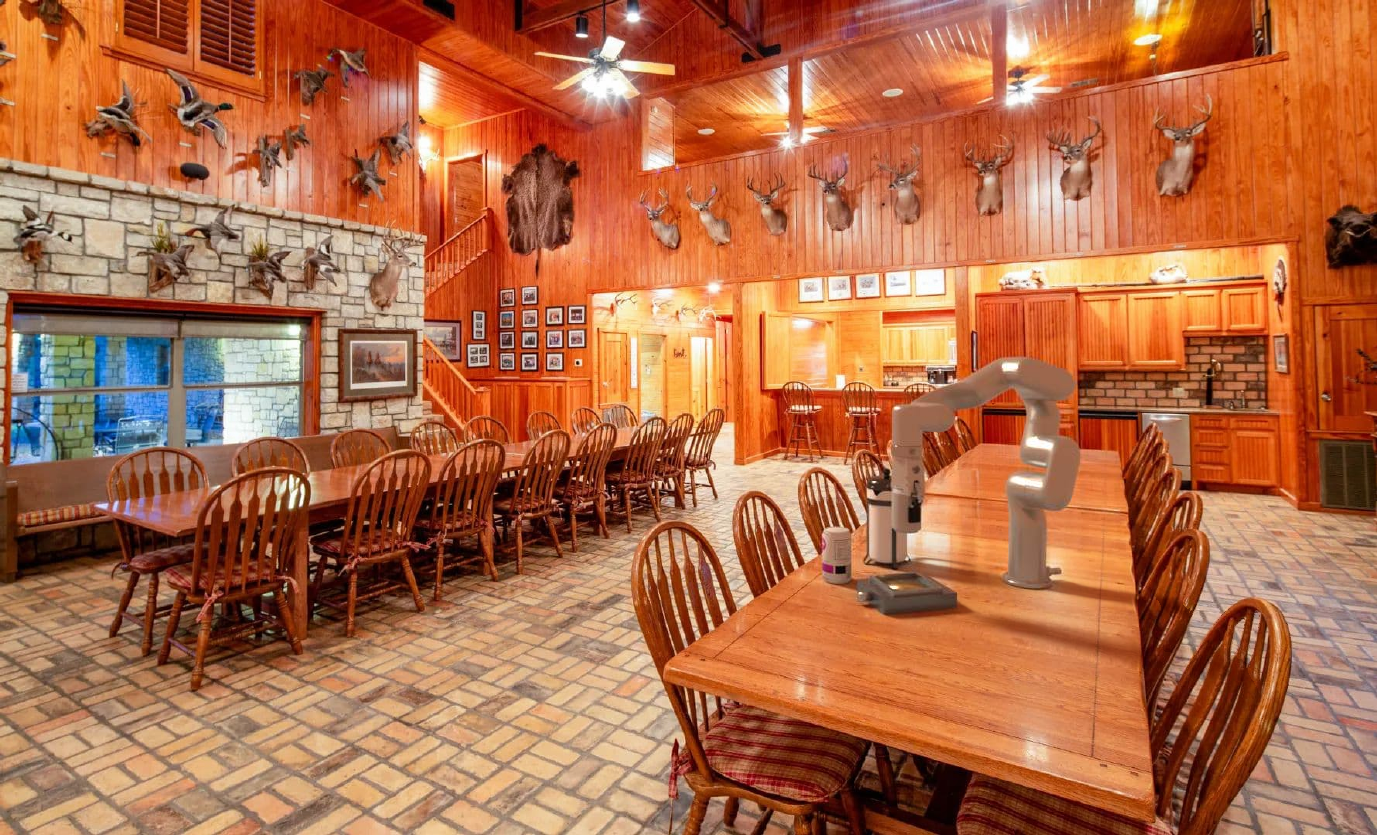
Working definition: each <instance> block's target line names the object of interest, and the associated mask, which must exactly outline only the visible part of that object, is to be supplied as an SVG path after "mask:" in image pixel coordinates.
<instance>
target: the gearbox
mask: <svg viewBox="0 0 1377 835" xmlns="http://www.w3.org/2000/svg"><path fill="white" fill-rule="evenodd" d="M856 597H857V598H856V599H857V601H858V602H859V603H862V602H864V603H865V602H867V603H868V604H869V605H871V606H872V607H873V608H875V610H876V611H878V612H880V614H882V616H883V615H885V616H887V615H896V614H906V613H917V612H930V611H941V610H951V609H952V610H953V609H958V592H956V591H955V590H954V589H951V588H949V587H948V586H947V585H944V584H943V583H941V582H939V581H938V580H936V579H934V578H933V577H932V576H929V575H928V574H926V573H920V572H918V571H908V572H897V573H885V574H884V573H883V574H873V575H872V574H871V575H869V577H868V578H858V579H856Z"/></svg>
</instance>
